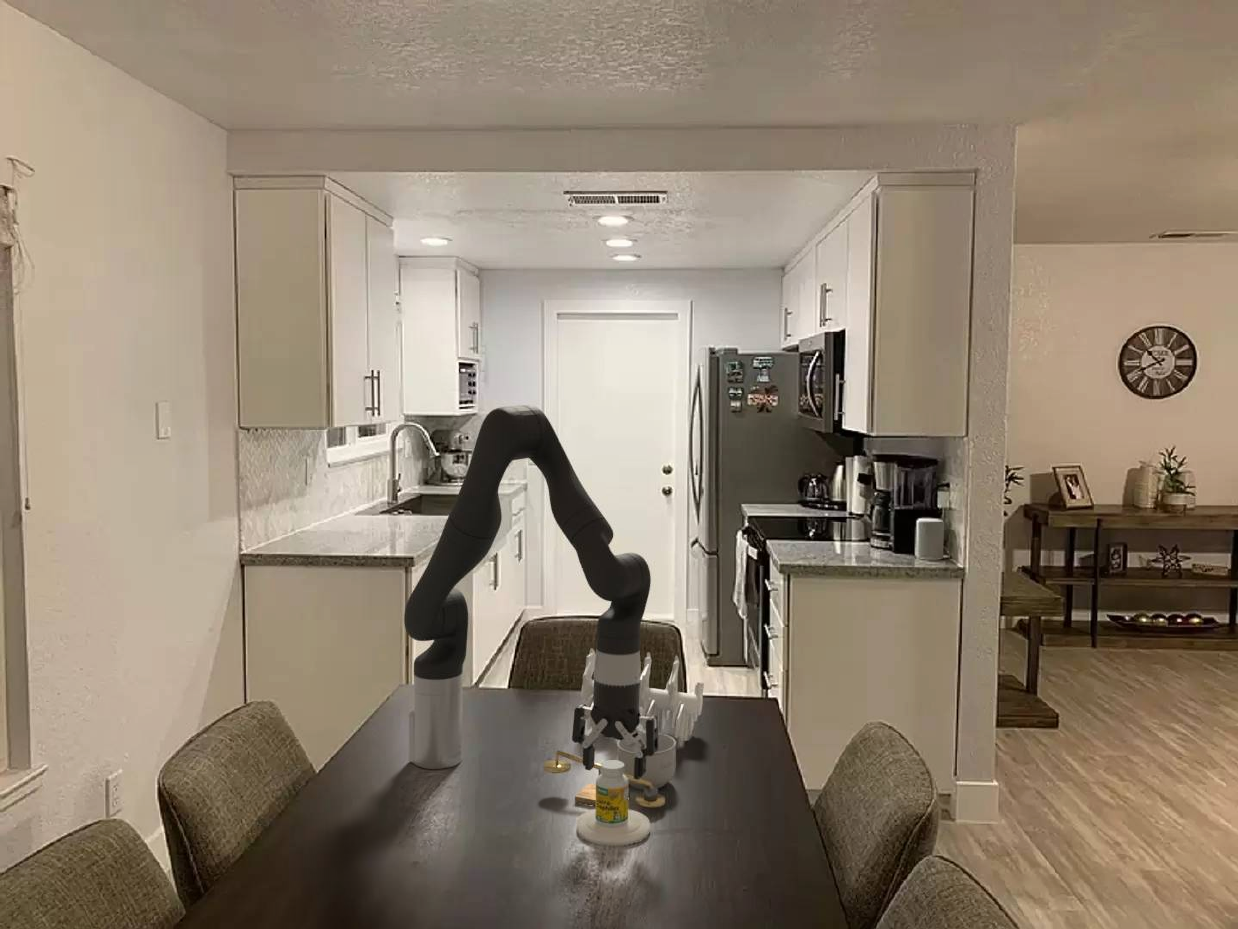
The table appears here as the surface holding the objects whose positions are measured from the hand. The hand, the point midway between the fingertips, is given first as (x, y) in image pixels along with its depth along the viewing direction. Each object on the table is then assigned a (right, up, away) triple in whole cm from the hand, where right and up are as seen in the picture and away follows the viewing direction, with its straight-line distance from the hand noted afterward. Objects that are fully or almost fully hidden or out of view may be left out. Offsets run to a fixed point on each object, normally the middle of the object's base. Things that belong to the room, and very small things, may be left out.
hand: (613, 773), depth 164 cm
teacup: (+6, -8, +22) cm, 24 cm away
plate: (0, -9, +1) cm, 9 cm away
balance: (-2, -9, +12) cm, 15 cm away
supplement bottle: (0, -8, +1) cm, 8 cm away
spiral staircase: (+5, -6, +44) cm, 45 cm away
